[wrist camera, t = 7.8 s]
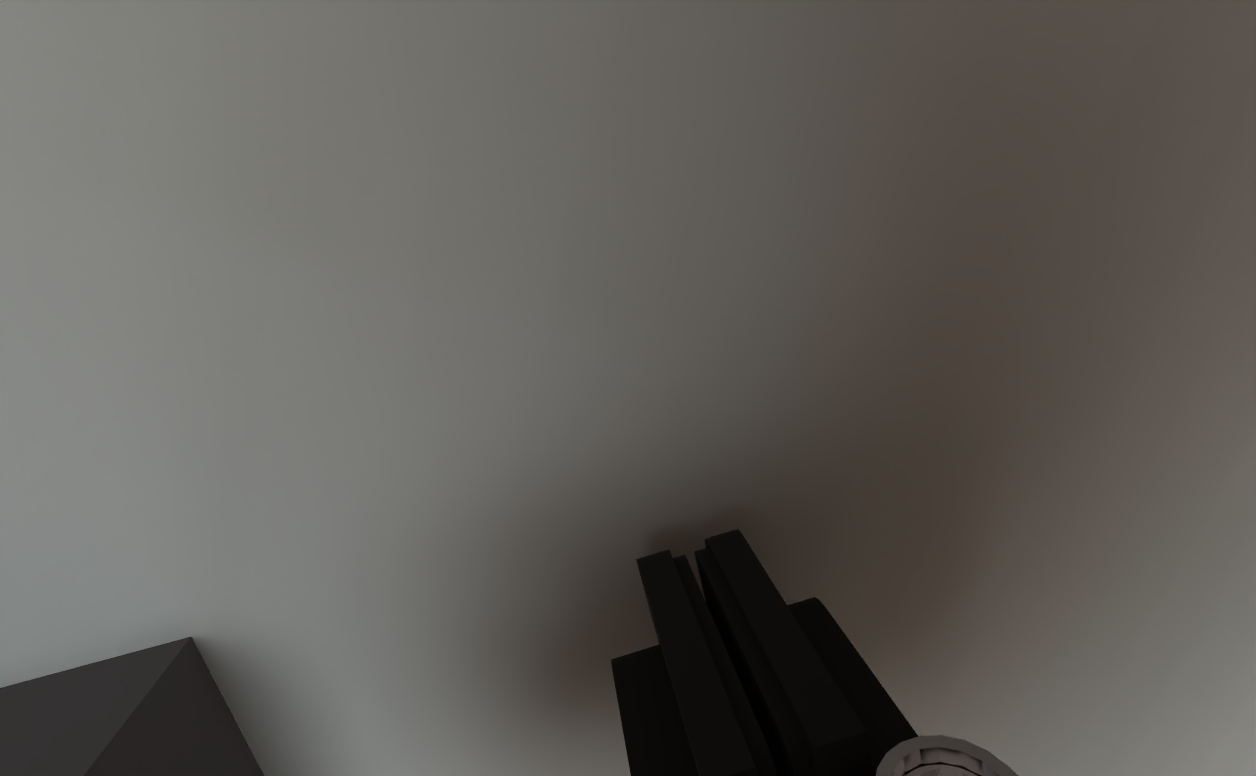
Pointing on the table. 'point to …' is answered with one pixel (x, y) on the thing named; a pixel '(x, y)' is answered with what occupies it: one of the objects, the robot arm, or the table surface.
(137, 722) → the plug
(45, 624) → the table surface
